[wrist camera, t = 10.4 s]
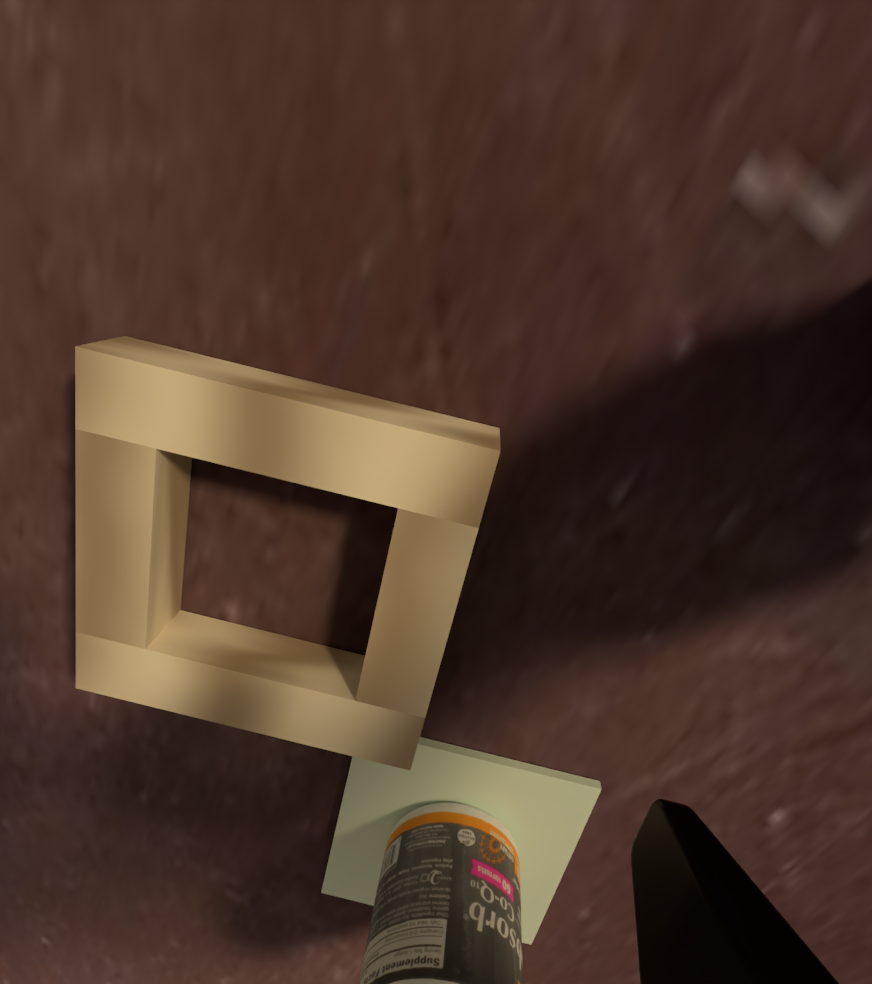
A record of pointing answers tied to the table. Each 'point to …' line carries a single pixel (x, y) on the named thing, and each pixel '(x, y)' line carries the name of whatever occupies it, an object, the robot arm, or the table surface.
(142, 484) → the pocket holder
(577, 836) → the mat
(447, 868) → the pill bottle
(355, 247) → the table surface
